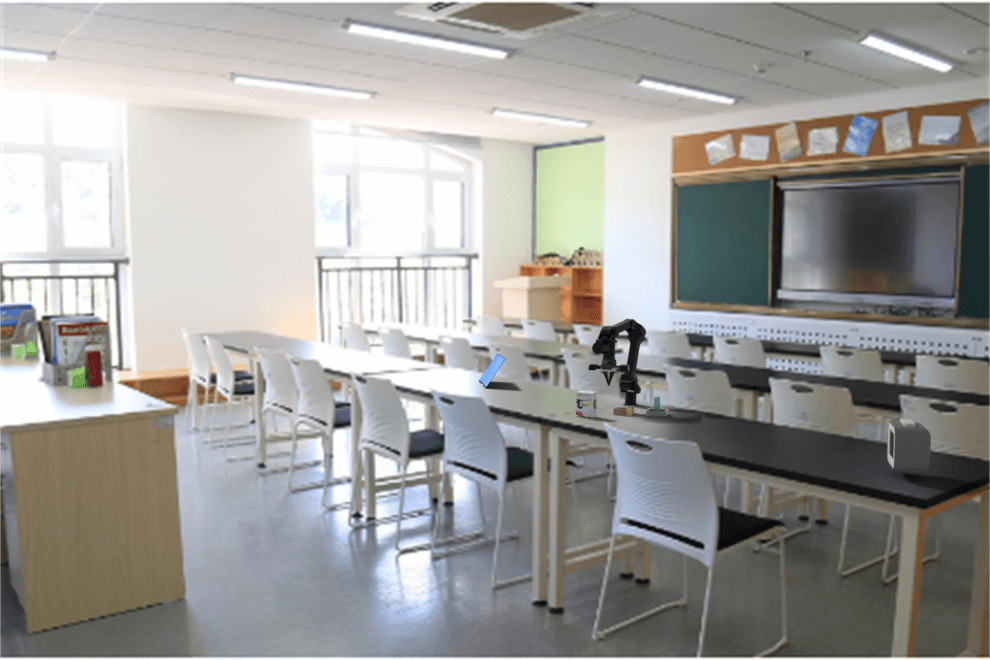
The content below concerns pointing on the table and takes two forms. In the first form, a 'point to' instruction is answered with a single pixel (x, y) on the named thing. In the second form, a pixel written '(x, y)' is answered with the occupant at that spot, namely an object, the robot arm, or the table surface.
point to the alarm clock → (908, 445)
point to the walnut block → (619, 411)
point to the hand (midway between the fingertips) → (608, 385)
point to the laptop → (491, 370)
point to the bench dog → (629, 410)
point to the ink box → (586, 403)
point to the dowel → (656, 403)
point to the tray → (656, 413)
